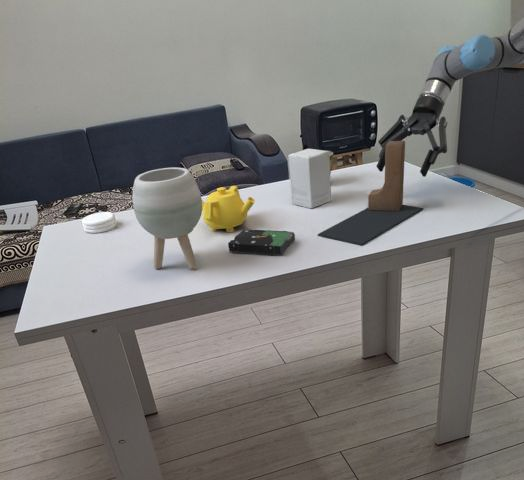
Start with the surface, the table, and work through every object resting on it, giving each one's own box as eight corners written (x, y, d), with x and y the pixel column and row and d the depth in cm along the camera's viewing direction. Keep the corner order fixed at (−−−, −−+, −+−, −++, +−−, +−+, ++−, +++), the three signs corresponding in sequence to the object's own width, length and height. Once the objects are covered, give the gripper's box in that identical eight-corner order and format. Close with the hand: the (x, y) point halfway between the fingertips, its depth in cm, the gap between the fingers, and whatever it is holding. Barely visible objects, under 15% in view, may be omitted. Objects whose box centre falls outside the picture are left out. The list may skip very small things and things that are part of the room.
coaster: (100, 220, 172) (97, 210, 170) (123, 223, 167) (121, 212, 165) (77, 232, 165) (74, 221, 163) (101, 235, 160) (97, 223, 158)
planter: (194, 246, 145) (179, 161, 133) (222, 264, 133) (208, 172, 121) (138, 264, 138) (117, 176, 126) (163, 284, 126) (142, 189, 114)
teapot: (181, 235, 153) (173, 196, 147) (212, 214, 166) (206, 177, 160) (243, 240, 145) (237, 199, 139) (270, 217, 158) (267, 179, 152)
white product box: (332, 201, 165) (330, 150, 157) (311, 209, 161) (308, 157, 153) (311, 196, 171) (309, 147, 163) (291, 204, 167) (287, 154, 159)
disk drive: (228, 253, 138) (282, 256, 133) (227, 243, 137) (281, 245, 132) (244, 238, 146) (295, 240, 141) (243, 228, 145) (294, 230, 139)
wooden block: (367, 210, 153) (368, 144, 144) (371, 205, 157) (372, 140, 147) (399, 211, 150) (402, 144, 140) (402, 206, 153) (405, 140, 144)
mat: (423, 209, 151) (423, 207, 151) (361, 245, 134) (361, 243, 133) (380, 202, 159) (380, 200, 159) (317, 235, 142) (317, 234, 142)
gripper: (477, 112, 145) (446, 183, 144) (396, 109, 160) (367, 173, 159) (470, 94, 139) (438, 168, 138) (386, 93, 154) (357, 160, 153)
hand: (400, 171), depth 149 cm, fingers open, 13 cm apart
